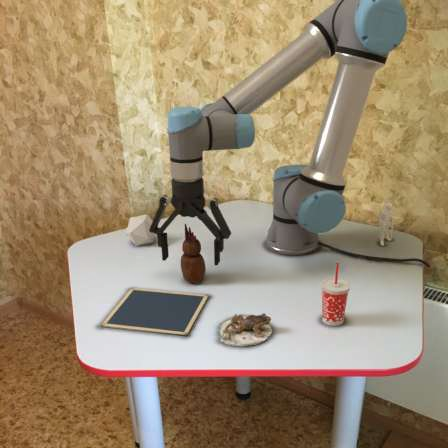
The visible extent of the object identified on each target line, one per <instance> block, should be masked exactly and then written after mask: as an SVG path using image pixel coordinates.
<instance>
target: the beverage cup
mask: <svg viewBox="0 0 448 448" xmlns="http://www.w3.org/2000/svg"><path fill="white" fill-rule="evenodd" d="M335 264H336V265H335V276H334V277H330V278H327V279H324V280H322V281H321V285H320V287H321V290H322V291H321V292H322V293H321V295H322V297H321V298H322V300H321V301H322V302H321V303H322V305H321V308H322V309H321V311H322V312H321V314H322V315H321V317H322V319H321V320H322V322H323V324H325V325H326V326H330V327H331V326H332V327H337V326H340V325H342V324H343V323H344V320H345V314H346V307H347V303H348V302H347V301H348V295H349V292H350V290H351V283H350V282H349V281H347V280H346V279H342V278H339V277H338V275H339V264H340V262H336V263H335Z"/></svg>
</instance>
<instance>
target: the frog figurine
mask: <svg viewBox="0 0 448 448" xmlns="http://www.w3.org/2000/svg"><path fill="white" fill-rule="evenodd" d="M271 320H272V318H271V316H268V315H267V314H266V313H261V314H258V315H255V314H249V315H247V316H244V315H242V314H238V315H237V313H235V314H234V315H233V316H232V317H231V318H230V319H228V320H227V321H224V322H223V323H221V324H220V325H219V332H220V339H219V340H220V342H222V343H223V344H225V345H228V346H233V347H241V348H242V347H243V348H245V347H249V346H250V347H251V346H257V345H258V344H261V343H263V342H265V341H267V339H268V338H269V337H271V335H272V334H273V329H272V326H271V325H270V323H271Z"/></svg>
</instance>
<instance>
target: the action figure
mask: <svg viewBox="0 0 448 448" xmlns="http://www.w3.org/2000/svg"><path fill="white" fill-rule="evenodd" d="M392 209H393V204H392V203H390V202H388V203H386V204H385V208H384V209H382V210H381V211H380V212H379V214H378V215H377V218H376V220H377V222H379V226H377V228H378V230H379V231H380V234H379V241H380V242H379V244H380V246H383V247H384V246H385V243H384V241H385V239H386V240H387V241H389V242H391V241H392V239H393V233H394V227H395V221H396V220H398V217H396V216H393V215H392ZM391 219H392V222H391ZM390 228H391V233H390V237H389V229H390Z"/></svg>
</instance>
